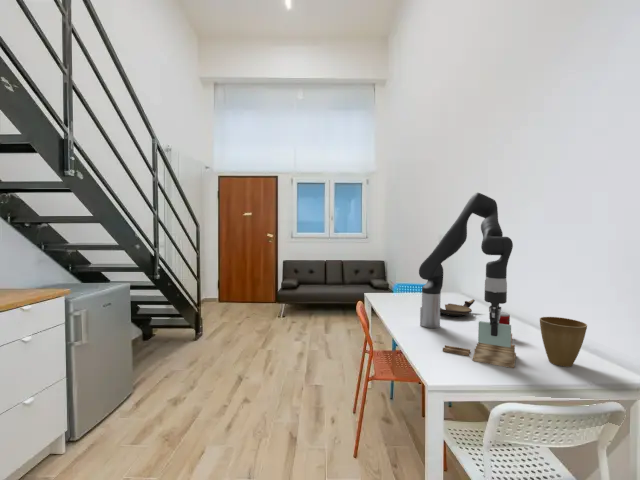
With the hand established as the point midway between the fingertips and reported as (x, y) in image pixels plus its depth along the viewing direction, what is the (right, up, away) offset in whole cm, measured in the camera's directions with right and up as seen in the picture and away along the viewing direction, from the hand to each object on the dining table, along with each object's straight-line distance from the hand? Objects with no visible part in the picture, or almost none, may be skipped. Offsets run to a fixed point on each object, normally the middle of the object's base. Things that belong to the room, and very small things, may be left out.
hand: (494, 334), depth 136 cm
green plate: (0, -4, 0) cm, 4 cm away
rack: (+2, -10, +4) cm, 11 cm away
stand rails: (-10, -10, +11) cm, 18 cm away
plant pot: (+25, -11, 0) cm, 27 cm away
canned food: (+18, -10, +33) cm, 39 cm away
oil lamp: (+13, -8, +75) cm, 76 cm away
